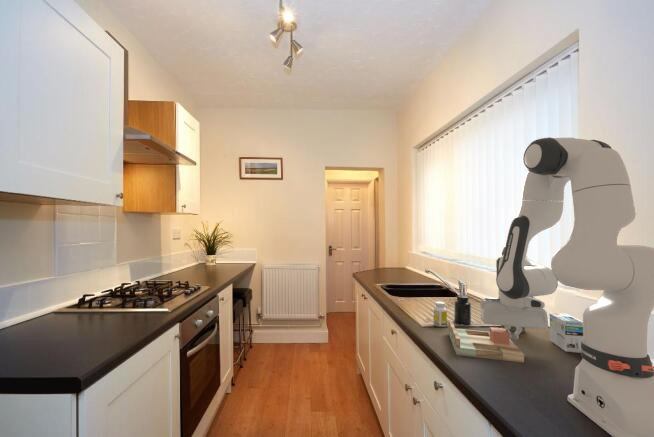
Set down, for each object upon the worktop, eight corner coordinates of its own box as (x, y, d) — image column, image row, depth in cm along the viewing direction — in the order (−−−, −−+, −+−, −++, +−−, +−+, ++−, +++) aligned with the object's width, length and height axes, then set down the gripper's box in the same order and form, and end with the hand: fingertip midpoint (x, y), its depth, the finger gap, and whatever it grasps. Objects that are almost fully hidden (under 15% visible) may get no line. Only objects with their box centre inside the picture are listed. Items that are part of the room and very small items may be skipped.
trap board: (524, 362, 94) (523, 345, 94) (456, 354, 99) (456, 338, 100) (504, 339, 113) (504, 325, 113) (448, 334, 119) (448, 320, 119)
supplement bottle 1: (447, 324, 131) (447, 301, 131) (446, 327, 126) (446, 304, 126) (434, 322, 133) (434, 300, 134) (433, 325, 128) (433, 303, 129)
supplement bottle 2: (451, 321, 134) (450, 295, 135) (461, 319, 138) (461, 293, 138) (464, 326, 128) (464, 298, 129) (474, 324, 131) (474, 296, 132)
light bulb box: (587, 354, 101) (587, 322, 101) (565, 352, 102) (564, 320, 103) (568, 342, 112) (568, 313, 112) (548, 340, 113) (548, 312, 113)
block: (509, 344, 102) (509, 333, 102) (493, 343, 103) (493, 331, 103) (505, 339, 107) (505, 328, 107) (489, 338, 108) (489, 327, 108)
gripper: (482, 298, 104) (482, 338, 104) (550, 303, 98) (550, 345, 98) (478, 294, 110) (478, 332, 110) (542, 299, 105) (542, 338, 104)
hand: (513, 338), depth 104 cm, fingers closed
